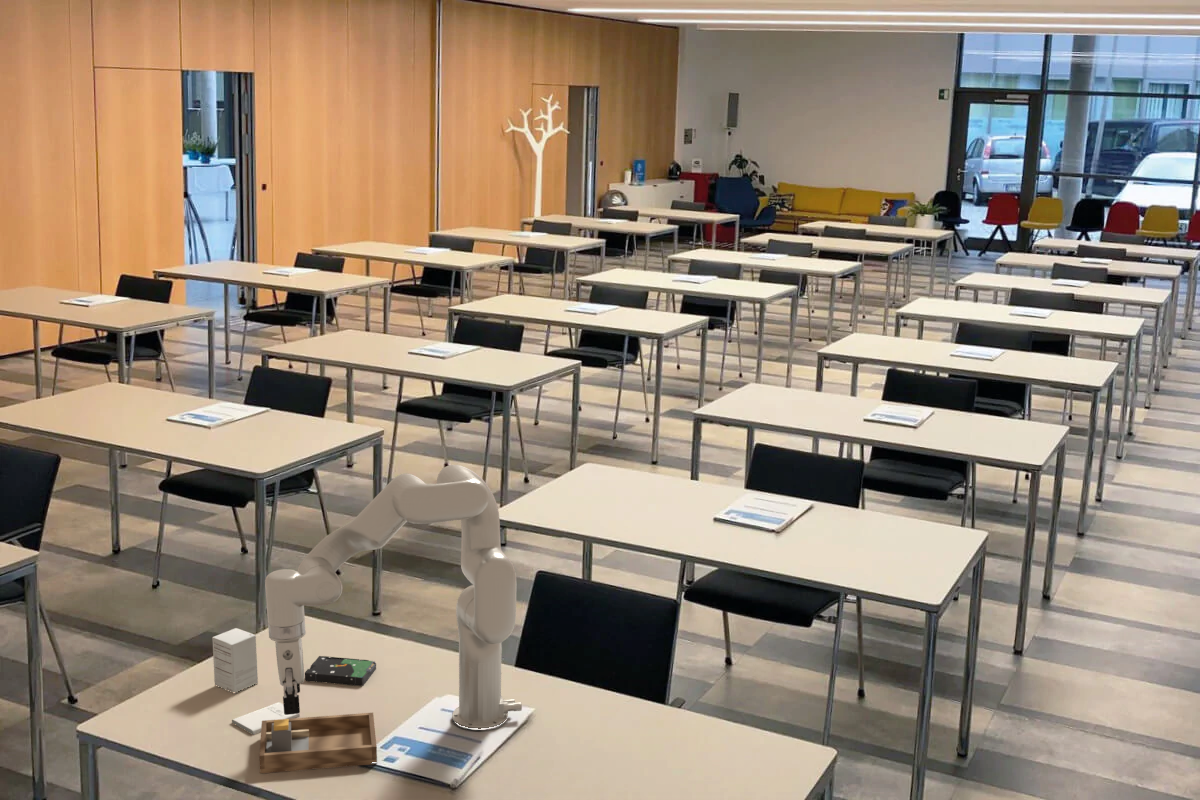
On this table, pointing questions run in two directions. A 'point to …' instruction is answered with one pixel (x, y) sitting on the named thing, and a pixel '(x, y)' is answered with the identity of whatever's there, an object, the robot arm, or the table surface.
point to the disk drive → (340, 670)
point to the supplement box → (235, 660)
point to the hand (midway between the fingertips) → (292, 703)
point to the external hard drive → (262, 717)
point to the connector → (281, 736)
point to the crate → (321, 743)
